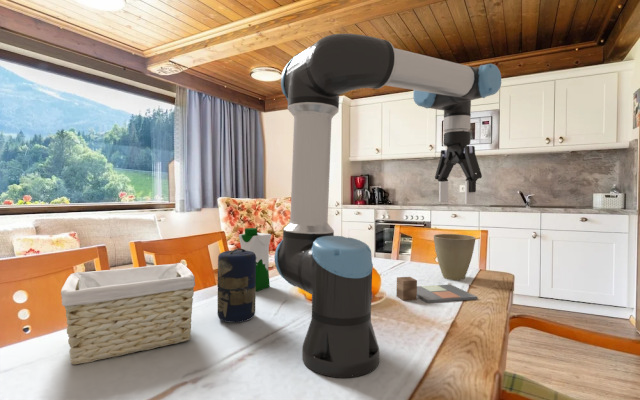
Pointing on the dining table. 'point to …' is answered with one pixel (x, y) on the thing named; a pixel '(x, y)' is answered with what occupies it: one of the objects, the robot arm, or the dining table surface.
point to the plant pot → (454, 254)
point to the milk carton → (258, 254)
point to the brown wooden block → (406, 288)
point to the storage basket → (127, 310)
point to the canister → (236, 285)
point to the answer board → (443, 293)
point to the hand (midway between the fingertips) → (455, 203)
